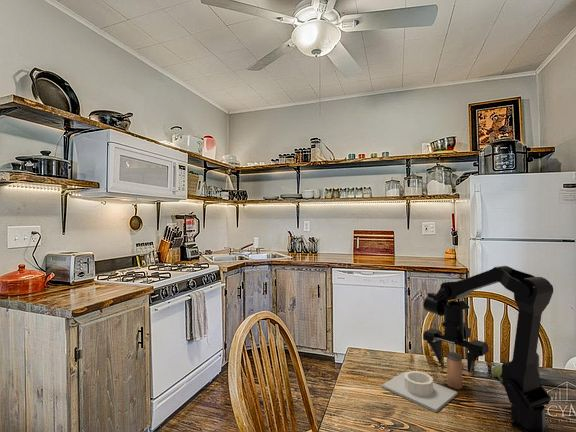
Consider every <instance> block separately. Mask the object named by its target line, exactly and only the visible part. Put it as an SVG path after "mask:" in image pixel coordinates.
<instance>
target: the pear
mask: <svg viewBox="0 0 576 432" xmlns="http://www.w3.org/2000/svg"><path fill="white" fill-rule="evenodd" d="M491 370H492V377H494V378H498V380H500V382H502V378H500V376H501V374H502V365H494V366H493V367H492V369H491Z"/></svg>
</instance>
